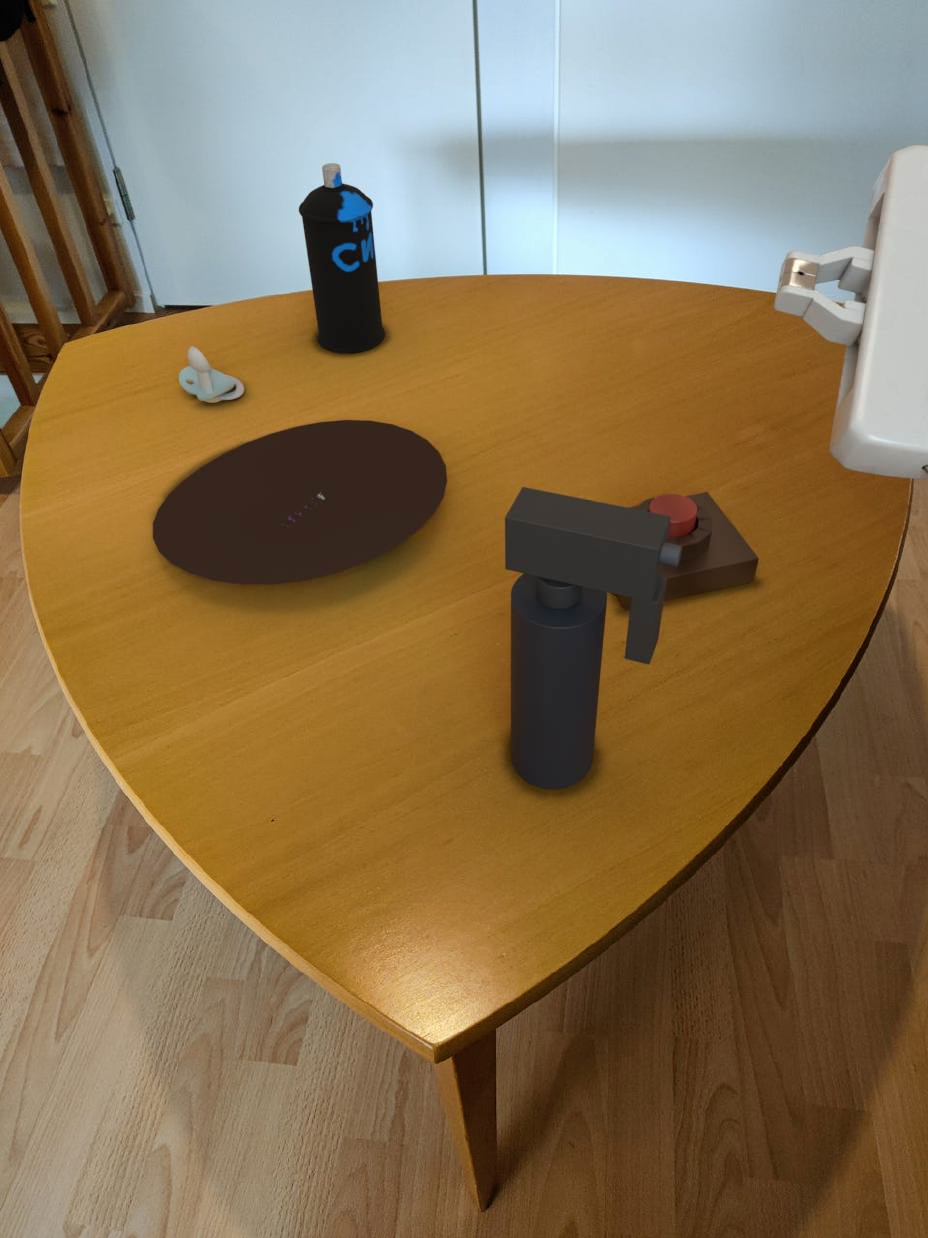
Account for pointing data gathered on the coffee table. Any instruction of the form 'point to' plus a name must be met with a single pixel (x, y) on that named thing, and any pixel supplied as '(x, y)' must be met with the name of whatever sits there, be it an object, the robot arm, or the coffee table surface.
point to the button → (676, 513)
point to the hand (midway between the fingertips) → (780, 279)
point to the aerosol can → (342, 264)
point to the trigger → (645, 626)
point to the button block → (706, 554)
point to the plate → (302, 503)
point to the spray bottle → (569, 619)
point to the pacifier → (208, 380)
